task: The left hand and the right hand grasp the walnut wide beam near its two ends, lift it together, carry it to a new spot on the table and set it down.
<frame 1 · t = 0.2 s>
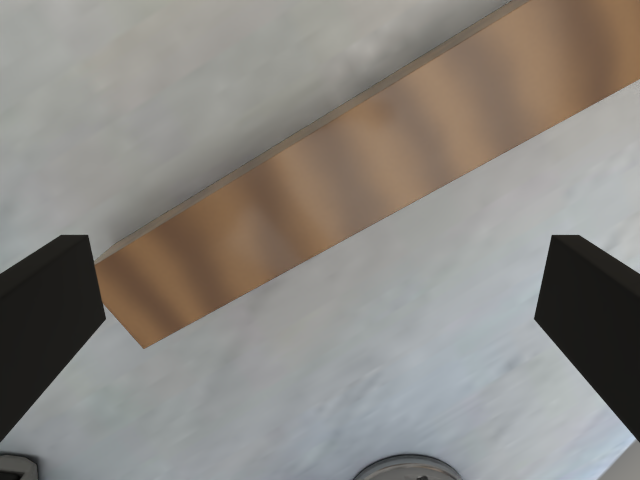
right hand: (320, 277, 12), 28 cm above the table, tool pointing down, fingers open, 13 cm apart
wide beam: (464, 90, 37), on the table
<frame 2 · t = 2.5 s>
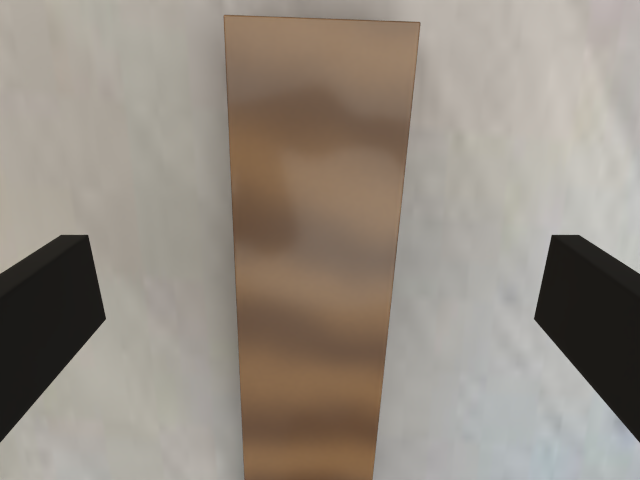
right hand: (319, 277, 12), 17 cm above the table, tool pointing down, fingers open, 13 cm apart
wide beam: (307, 475, 38), on the table
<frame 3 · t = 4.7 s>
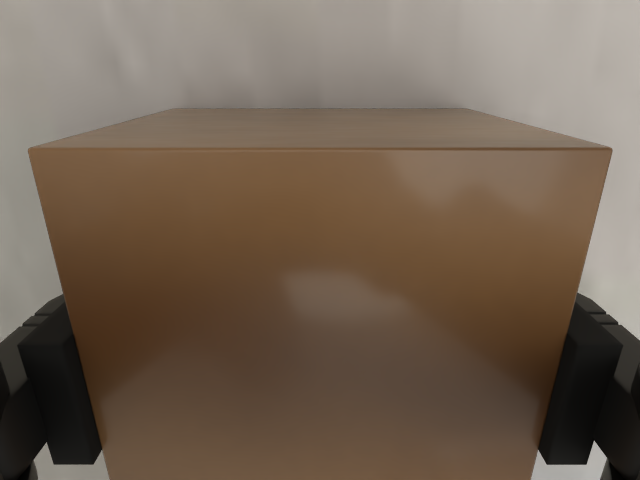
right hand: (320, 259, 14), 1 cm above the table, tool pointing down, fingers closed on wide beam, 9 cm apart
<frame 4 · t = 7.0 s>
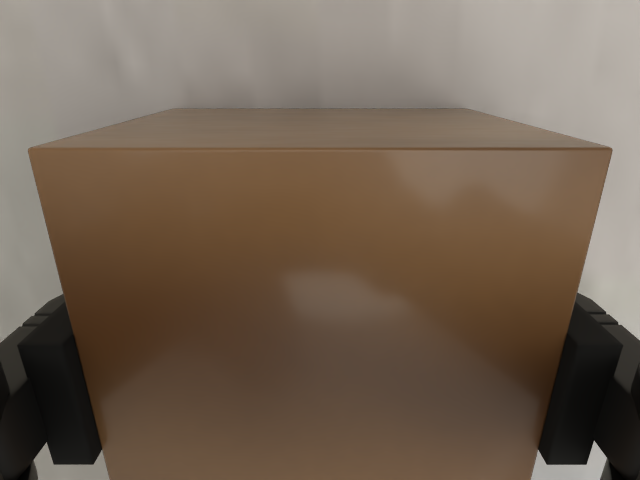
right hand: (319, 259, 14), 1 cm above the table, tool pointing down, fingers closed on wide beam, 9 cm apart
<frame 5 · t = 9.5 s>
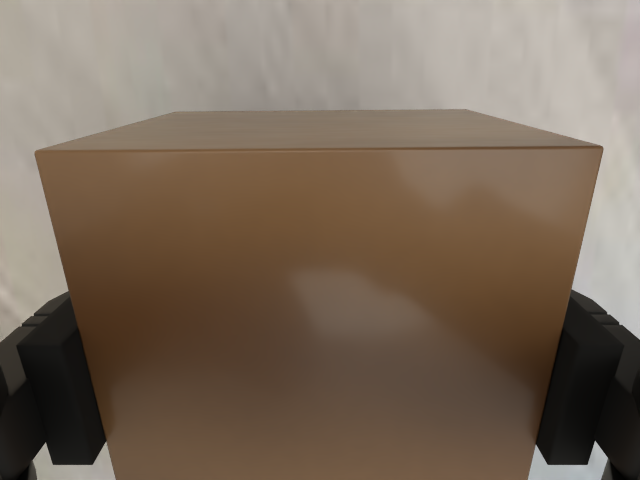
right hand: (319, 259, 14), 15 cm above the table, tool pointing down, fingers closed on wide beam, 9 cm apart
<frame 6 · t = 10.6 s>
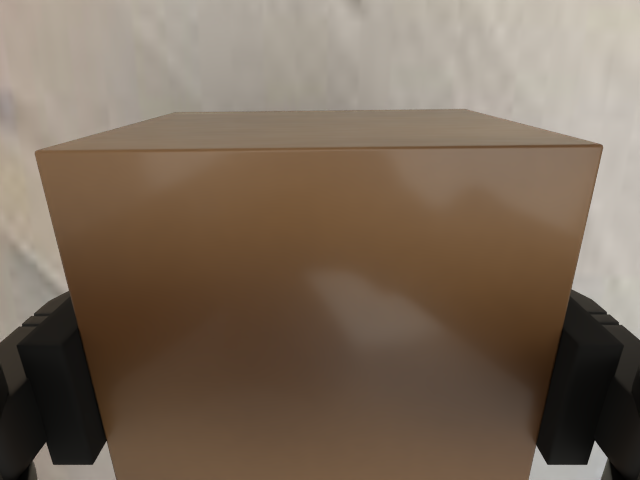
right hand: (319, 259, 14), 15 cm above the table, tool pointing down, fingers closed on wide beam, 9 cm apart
when the left hand's fingers open (2 cm above the table, at t = 14.3 s): wide beam drops 1 cm, on the table.
when the right hand's fingers open (2 cm above the table, at t = 14.3 s): wide beam drops 1 cm, on the table.
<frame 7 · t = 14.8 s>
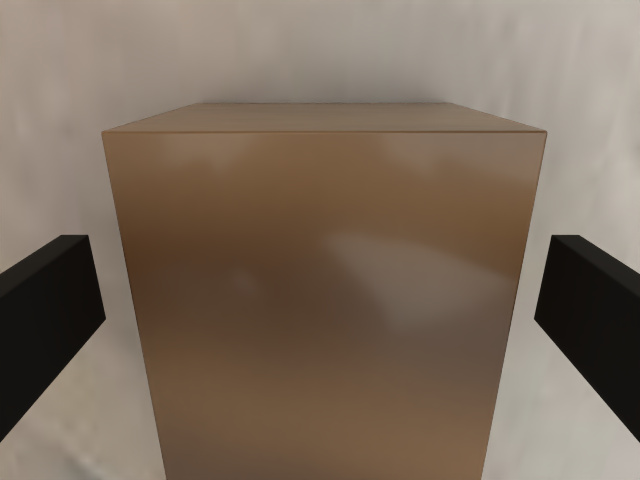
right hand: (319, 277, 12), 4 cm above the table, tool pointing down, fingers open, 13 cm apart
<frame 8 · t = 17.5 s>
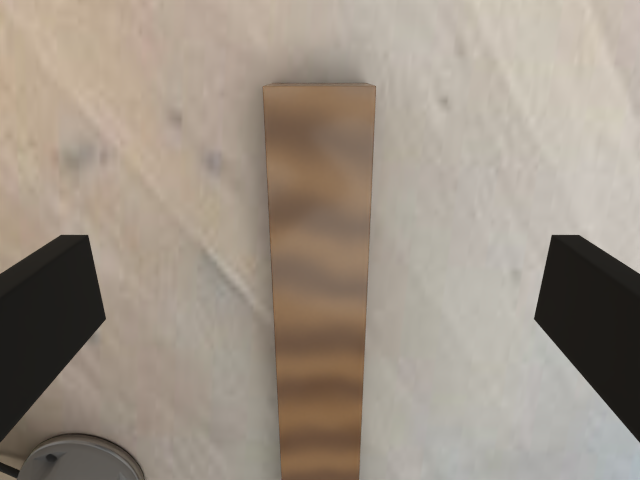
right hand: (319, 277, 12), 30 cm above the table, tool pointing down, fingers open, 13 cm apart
wide beam: (320, 395, 52), on the table
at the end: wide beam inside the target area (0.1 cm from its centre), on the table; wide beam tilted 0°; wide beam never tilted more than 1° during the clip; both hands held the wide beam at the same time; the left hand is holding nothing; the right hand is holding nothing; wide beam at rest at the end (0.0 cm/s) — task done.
